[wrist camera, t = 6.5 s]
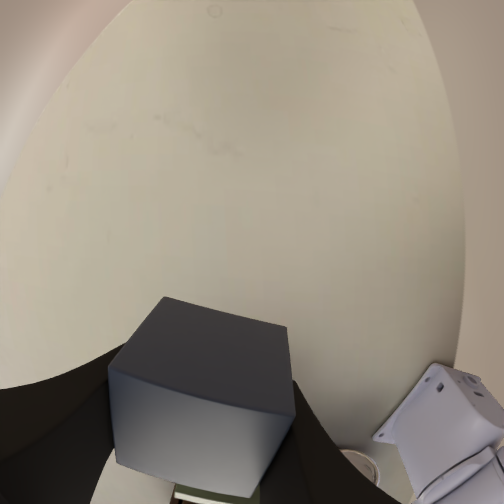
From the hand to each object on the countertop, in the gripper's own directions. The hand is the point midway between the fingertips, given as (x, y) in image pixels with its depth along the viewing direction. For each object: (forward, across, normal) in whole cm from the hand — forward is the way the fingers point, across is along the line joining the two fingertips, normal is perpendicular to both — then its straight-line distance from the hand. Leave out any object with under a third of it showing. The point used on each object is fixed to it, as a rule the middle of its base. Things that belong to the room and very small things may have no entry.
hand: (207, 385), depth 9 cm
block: (+1, 0, 0) cm, 1 cm away
